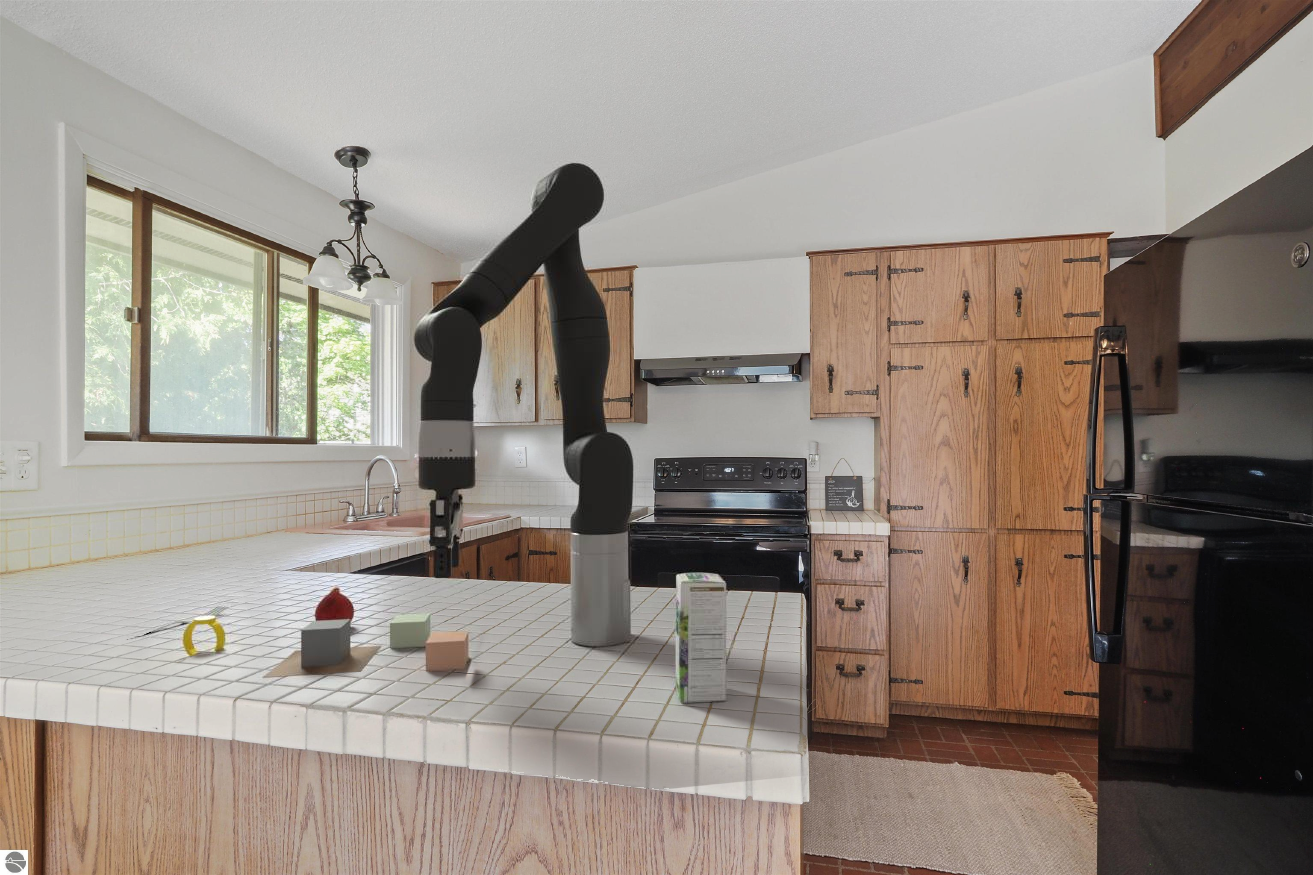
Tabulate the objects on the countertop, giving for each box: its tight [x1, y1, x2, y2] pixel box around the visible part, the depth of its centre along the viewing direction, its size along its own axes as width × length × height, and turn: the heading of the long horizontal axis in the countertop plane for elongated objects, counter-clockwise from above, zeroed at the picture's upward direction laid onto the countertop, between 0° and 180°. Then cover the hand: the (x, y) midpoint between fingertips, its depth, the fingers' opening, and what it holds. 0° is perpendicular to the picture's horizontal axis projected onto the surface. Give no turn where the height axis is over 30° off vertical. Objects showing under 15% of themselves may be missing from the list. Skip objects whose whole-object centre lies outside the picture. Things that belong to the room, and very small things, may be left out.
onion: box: [314, 586, 355, 624], centre depth 111 cm, size 6×6×8 cm
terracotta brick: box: [425, 630, 470, 672], centre depth 92 cm, size 5×5×5 cm
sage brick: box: [389, 613, 431, 649], centre depth 102 cm, size 5×5×5 cm
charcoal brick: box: [300, 619, 351, 667], centre depth 94 cm, size 5×5×5 cm
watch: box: [182, 615, 226, 657], centre depth 100 cm, size 6×3×6 cm, turn 82°
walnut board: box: [262, 645, 382, 679], centre depth 94 cm, size 12×12×1 cm
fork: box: [141, 605, 229, 634], centre depth 116 cm, size 3×24×2 cm, turn 166°
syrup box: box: [675, 572, 727, 704], centre depth 83 cm, size 6×6×14 cm
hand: (447, 572), depth 92 cm, fingers open, 8 cm apart
